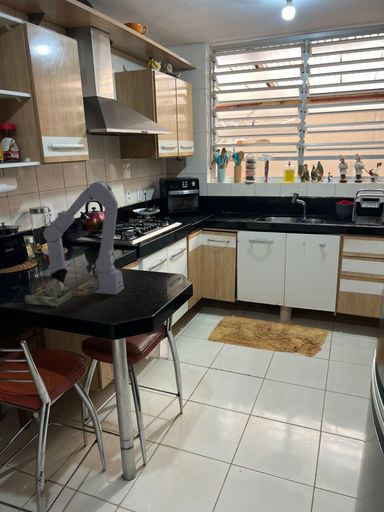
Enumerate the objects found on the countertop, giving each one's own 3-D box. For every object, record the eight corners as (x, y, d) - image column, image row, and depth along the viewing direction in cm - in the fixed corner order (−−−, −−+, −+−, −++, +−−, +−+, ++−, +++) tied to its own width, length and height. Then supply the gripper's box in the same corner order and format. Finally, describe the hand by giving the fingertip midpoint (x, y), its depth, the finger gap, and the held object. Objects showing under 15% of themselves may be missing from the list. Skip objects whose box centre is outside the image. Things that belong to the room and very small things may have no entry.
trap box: (97, 286, 159) (96, 280, 159) (66, 307, 139) (65, 299, 138) (53, 283, 166) (52, 277, 165) (17, 302, 146) (16, 295, 145)
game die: (56, 304, 152) (57, 281, 155) (70, 300, 147) (71, 276, 151) (37, 301, 145) (38, 276, 148) (51, 296, 140) (52, 271, 144)
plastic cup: (51, 279, 171) (48, 254, 168) (43, 274, 179) (39, 250, 176) (74, 274, 178) (71, 249, 175) (65, 269, 186) (61, 246, 183)
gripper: (59, 250, 157) (63, 281, 161) (35, 259, 144) (40, 293, 148) (73, 251, 155) (77, 282, 159) (51, 260, 142) (56, 294, 146)
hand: (60, 287), depth 153 cm, fingers closed
